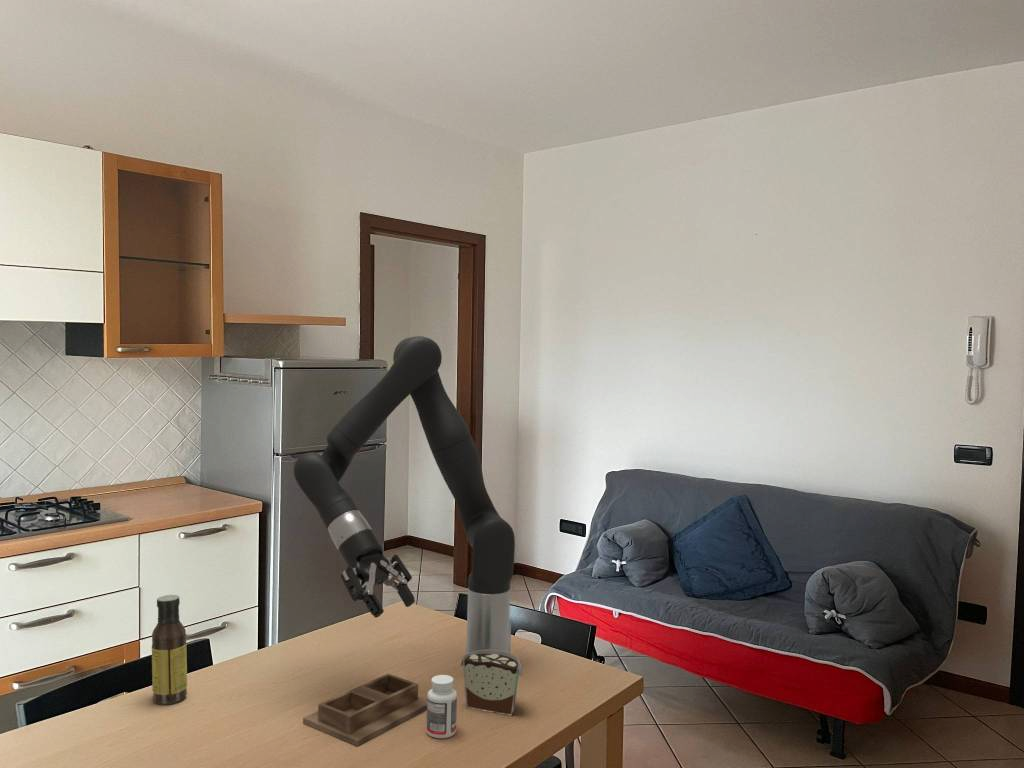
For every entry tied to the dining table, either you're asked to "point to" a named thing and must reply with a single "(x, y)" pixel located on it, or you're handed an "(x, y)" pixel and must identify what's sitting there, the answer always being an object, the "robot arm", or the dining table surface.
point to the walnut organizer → (368, 709)
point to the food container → (491, 680)
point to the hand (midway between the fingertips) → (395, 609)
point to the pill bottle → (441, 707)
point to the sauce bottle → (169, 653)
